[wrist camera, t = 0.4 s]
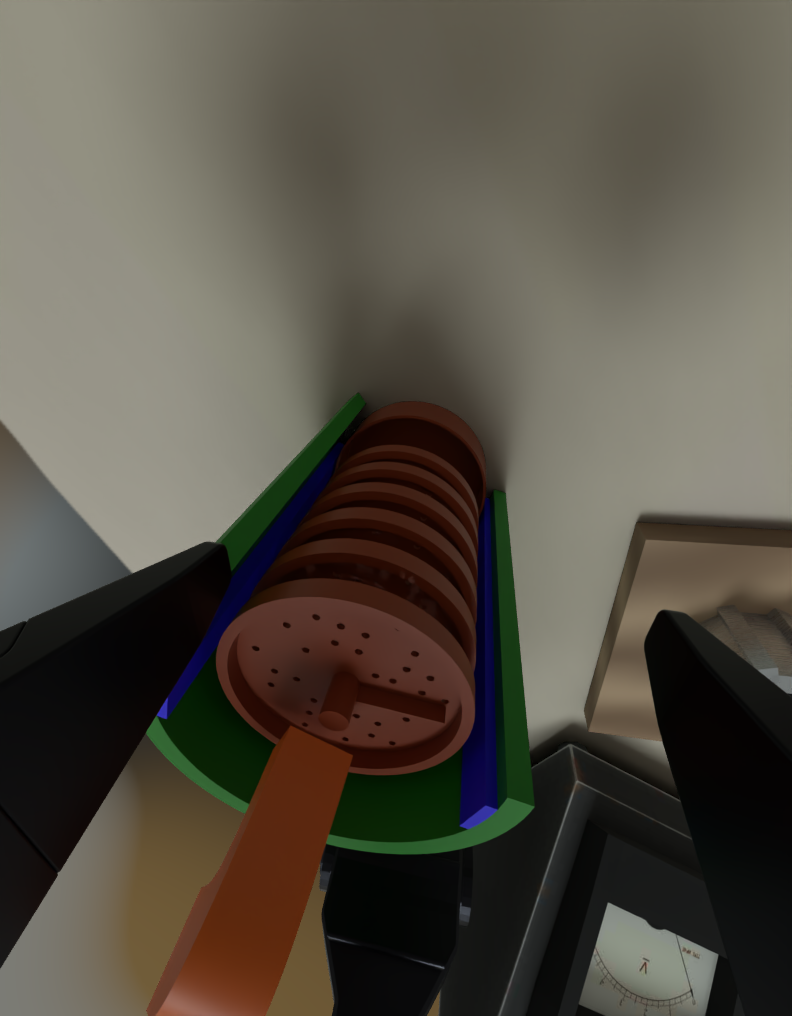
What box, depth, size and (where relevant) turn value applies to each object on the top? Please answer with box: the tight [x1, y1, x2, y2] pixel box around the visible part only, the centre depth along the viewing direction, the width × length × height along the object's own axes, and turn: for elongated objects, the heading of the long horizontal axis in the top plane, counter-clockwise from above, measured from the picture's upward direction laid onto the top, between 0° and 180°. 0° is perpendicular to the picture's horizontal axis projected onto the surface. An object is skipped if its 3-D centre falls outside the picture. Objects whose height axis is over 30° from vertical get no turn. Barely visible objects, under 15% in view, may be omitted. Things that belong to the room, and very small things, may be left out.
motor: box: [146, 393, 535, 1016], centre depth 16 cm, size 10×9×20 cm
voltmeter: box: [439, 742, 745, 1016], centre depth 29 cm, size 16×16×20 cm
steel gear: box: [699, 605, 792, 697], centre depth 22 cm, size 7×7×4 cm
